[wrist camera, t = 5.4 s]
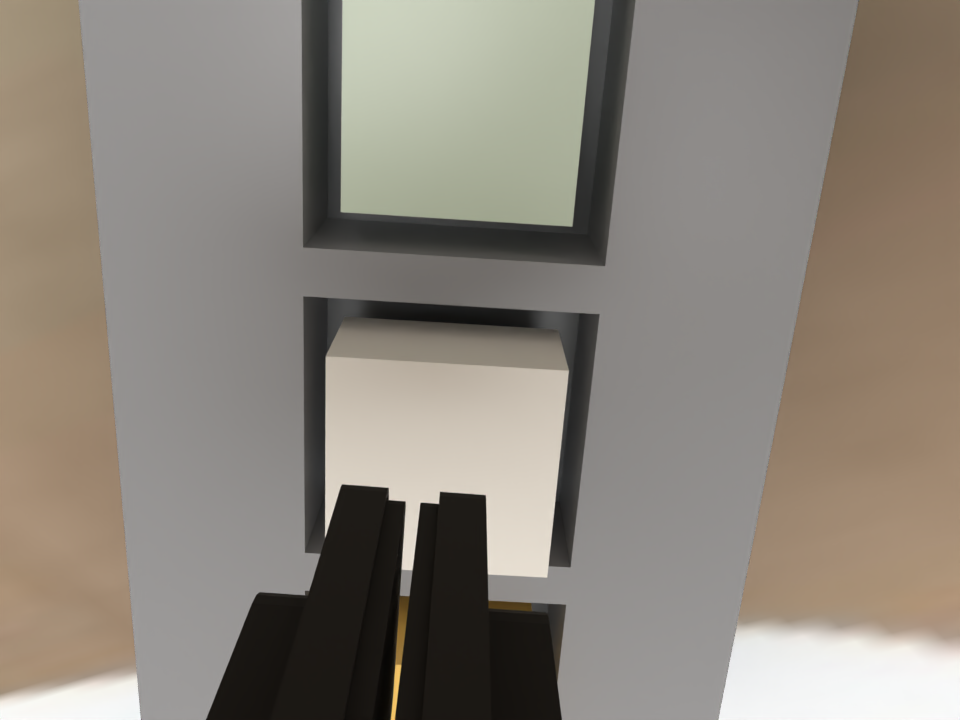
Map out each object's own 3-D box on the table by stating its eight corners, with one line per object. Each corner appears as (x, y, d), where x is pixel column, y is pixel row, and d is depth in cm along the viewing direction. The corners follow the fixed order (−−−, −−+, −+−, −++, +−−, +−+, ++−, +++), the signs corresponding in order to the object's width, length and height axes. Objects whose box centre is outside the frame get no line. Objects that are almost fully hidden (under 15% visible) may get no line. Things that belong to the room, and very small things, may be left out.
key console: (787, -80, 20) (880, -114, 15) (657, 703, 28) (694, 840, 23) (163, -123, 20) (63, -172, 15) (206, 680, 27) (149, 815, 23)
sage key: (582, -18, 18) (597, -25, 16) (561, 204, 20) (572, 226, 18) (360, -33, 18) (342, -43, 16) (357, 190, 20) (340, 212, 17)
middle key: (558, 329, 19) (569, 371, 17) (539, 516, 21) (547, 577, 18) (345, 316, 19) (325, 356, 17) (342, 505, 21) (324, 565, 18)
